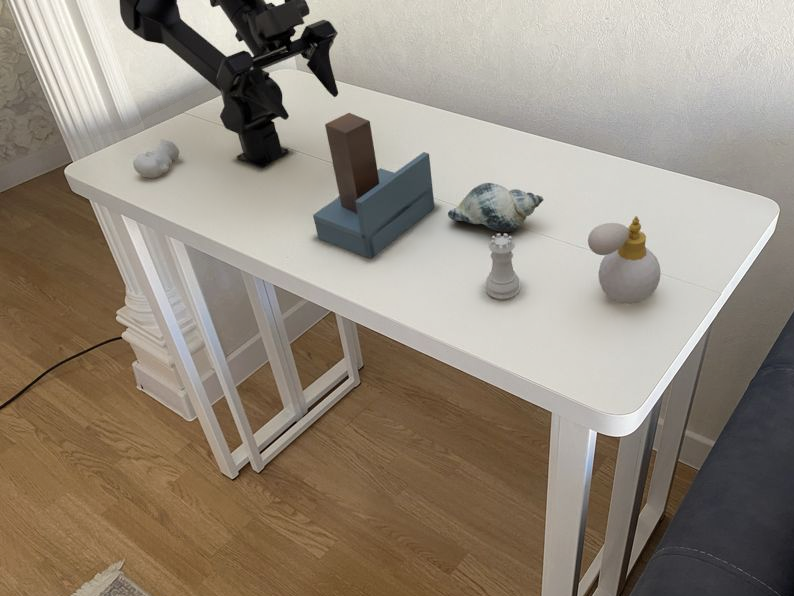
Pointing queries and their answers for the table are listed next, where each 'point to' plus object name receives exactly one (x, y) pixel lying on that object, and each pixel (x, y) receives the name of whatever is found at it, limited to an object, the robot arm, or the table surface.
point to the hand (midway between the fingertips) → (312, 106)
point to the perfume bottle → (625, 262)
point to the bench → (380, 210)
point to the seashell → (496, 207)
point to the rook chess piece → (502, 269)
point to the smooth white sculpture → (156, 159)
